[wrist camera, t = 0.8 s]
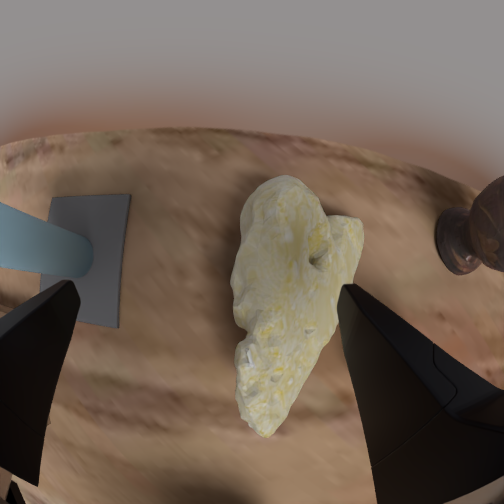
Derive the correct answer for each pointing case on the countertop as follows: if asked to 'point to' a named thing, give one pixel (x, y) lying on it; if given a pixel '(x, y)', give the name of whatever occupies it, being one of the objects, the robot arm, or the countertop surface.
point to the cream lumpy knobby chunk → (286, 294)
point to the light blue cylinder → (41, 246)
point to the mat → (95, 252)
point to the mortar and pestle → (474, 232)
